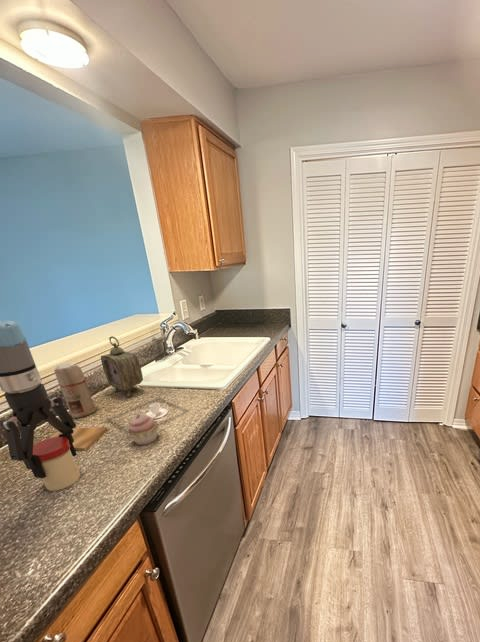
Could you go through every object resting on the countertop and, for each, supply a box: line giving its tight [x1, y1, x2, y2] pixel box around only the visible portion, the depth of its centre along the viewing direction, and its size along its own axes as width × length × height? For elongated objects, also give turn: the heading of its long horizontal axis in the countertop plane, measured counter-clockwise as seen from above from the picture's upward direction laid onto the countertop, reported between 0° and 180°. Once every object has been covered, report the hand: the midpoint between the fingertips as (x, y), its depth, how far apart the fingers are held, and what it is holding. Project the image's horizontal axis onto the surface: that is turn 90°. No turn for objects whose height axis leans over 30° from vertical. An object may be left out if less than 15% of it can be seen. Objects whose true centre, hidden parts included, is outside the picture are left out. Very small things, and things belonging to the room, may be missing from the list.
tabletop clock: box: [100, 335, 144, 398], centre depth 136 cm, size 14×9×25 cm, turn 54°
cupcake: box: [126, 412, 159, 446], centre depth 102 cm, size 9×9×10 cm
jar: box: [40, 449, 81, 492], centre depth 85 cm, size 8×8×11 cm
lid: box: [33, 437, 71, 462], centre depth 83 cm, size 9×9×2 cm
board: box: [49, 427, 108, 451], centre depth 106 cm, size 16×12×1 cm
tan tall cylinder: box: [53, 363, 97, 419], centre depth 120 cm, size 8×8×20 cm
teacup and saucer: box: [145, 402, 169, 420], centre depth 119 cm, size 9×8×4 cm
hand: (56, 465), depth 85 cm, fingers closed on lid, 8 cm apart
